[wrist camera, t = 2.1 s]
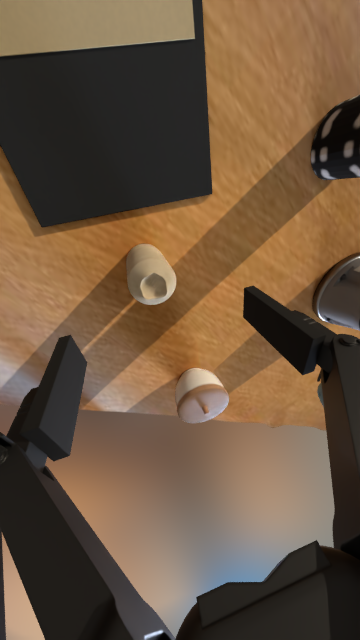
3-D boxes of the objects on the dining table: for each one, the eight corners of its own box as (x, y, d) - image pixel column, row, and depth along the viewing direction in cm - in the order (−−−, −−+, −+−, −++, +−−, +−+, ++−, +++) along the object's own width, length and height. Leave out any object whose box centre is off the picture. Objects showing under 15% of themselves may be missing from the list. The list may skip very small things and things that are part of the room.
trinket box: (160, 378, 43) (169, 417, 35) (202, 351, 42) (220, 386, 34) (184, 399, 49) (196, 437, 41) (221, 376, 48) (240, 411, 40)
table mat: (188, -219, 13) (190, -232, 13) (211, 193, 27) (212, 193, 26) (-196, -248, 11) (-208, -265, 10) (42, 227, 24) (41, 227, 24)
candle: (170, 259, 30) (189, 283, 22) (148, 286, 31) (158, 318, 23) (141, 234, 27) (150, 250, 19) (118, 265, 29) (117, 293, 20)
